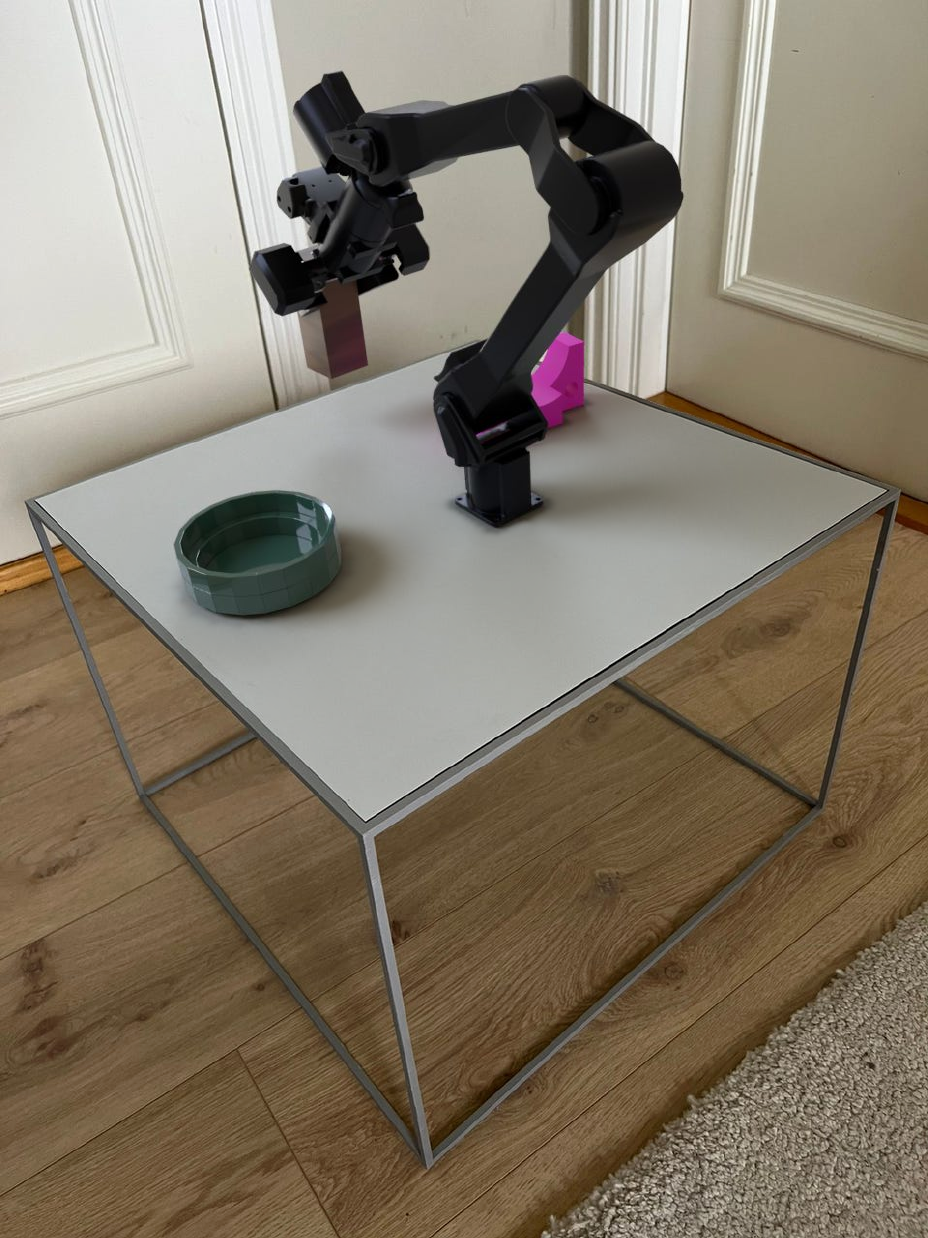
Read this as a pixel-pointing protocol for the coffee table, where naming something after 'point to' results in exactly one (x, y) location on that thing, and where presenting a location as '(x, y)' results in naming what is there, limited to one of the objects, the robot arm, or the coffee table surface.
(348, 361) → the walnut block
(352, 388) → the coffee table surface
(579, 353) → the toy block
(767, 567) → the coffee table surface
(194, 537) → the teal shallow bowl
